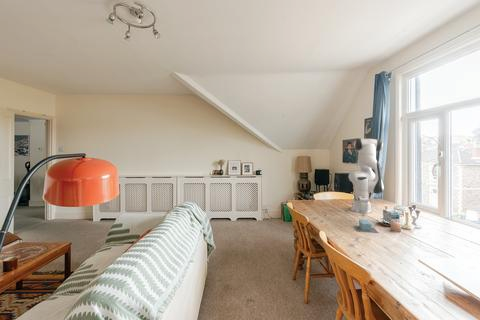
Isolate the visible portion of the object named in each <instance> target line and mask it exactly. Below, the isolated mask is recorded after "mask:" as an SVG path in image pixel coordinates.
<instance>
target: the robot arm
mask: <svg viewBox="0 0 480 320" xmlns="http://www.w3.org/2000/svg"><path fill="white" fill-rule="evenodd" d="M383 144H384V143H383V141H382V140H381V139H375V138H356V139H355V141H354V142H353V147H354V149H355V150H357V151H358V156H357V166H359V167H360V170H355V171H351V172H349V174H348V180H349V182H351V183H352V185H353V186H354V191H355V192H354V193H355V194H354V200H353V202H351V206H350V211H351V212H356V213H359V214H361V217H365V216H366V215H365V214H369V213H373V210H372V209H371V208H372V204H371V202H370V198H369V193H371V194H372V193H373V194H377V195H380V194H381V193H383V192H384V189H385V187H384V186H385V185H384V183H383V182H384V181H383V176H382V168H381V163H380V162H379V161H378V160H377V157H376V156H377V152H380V151H381V150H382V148H383V146H384V145H383ZM373 170H374V171H373Z"/></svg>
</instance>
